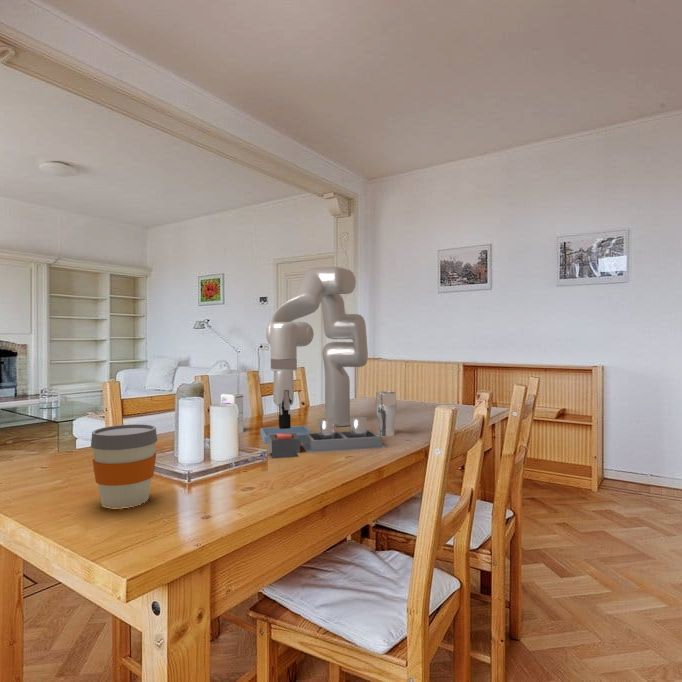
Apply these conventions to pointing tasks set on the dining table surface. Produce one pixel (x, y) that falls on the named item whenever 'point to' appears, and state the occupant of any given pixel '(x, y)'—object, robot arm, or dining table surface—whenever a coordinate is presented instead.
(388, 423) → the beer glass
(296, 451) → the box
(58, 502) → the dining table surface
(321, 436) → the billet
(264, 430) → the tray
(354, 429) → the seated billet
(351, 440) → the grey divided tray
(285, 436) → the button
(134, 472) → the reusable coffee cup
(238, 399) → the syrup box
